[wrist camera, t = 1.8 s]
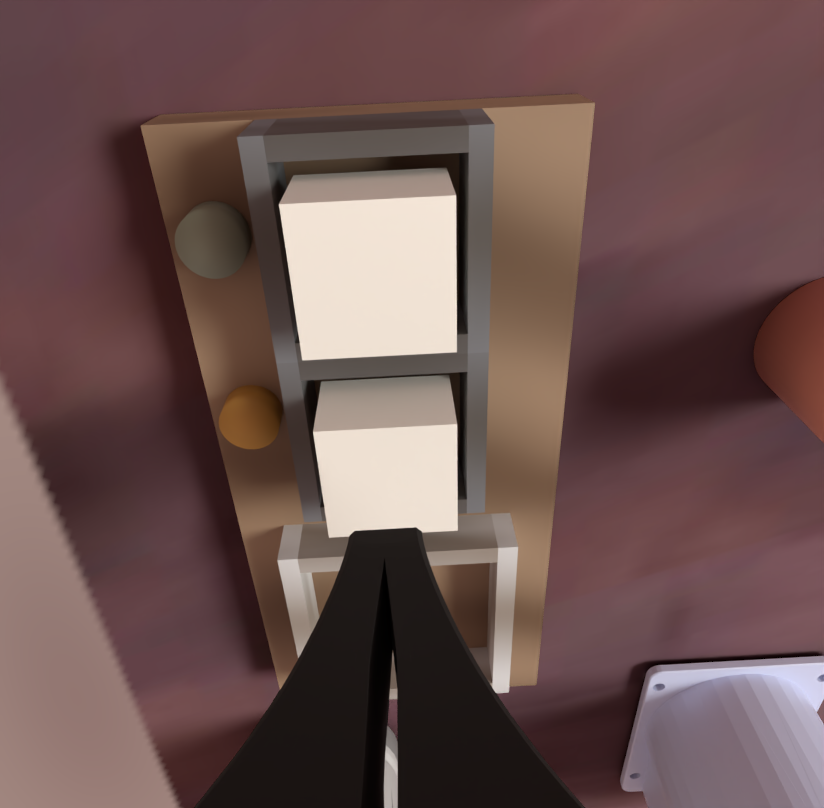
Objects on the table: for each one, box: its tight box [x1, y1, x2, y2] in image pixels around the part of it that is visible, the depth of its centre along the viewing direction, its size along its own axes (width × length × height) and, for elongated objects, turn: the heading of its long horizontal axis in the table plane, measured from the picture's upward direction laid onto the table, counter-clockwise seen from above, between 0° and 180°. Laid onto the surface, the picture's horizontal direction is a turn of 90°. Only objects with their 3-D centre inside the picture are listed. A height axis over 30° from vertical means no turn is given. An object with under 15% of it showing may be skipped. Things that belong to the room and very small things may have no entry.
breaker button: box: [279, 168, 457, 360], centre depth 13 cm, size 3×3×2 cm
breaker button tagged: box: [313, 375, 458, 538], centre depth 16 cm, size 3×3×2 cm
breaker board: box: [140, 94, 595, 699], centre depth 20 cm, size 21×10×4 cm, turn 2°
